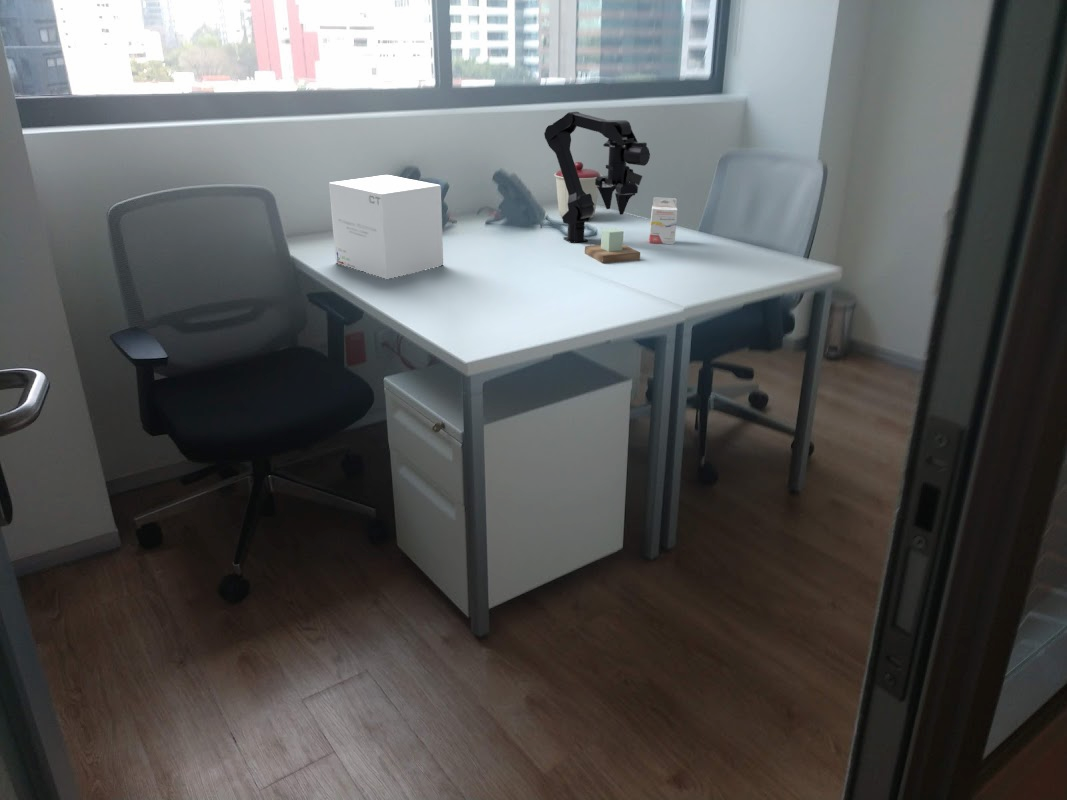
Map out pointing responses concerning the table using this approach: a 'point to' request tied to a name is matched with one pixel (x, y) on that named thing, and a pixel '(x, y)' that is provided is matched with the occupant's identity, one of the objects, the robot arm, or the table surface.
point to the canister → (587, 184)
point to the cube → (387, 225)
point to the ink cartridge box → (663, 221)
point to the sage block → (612, 239)
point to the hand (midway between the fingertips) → (614, 211)
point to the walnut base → (612, 254)
